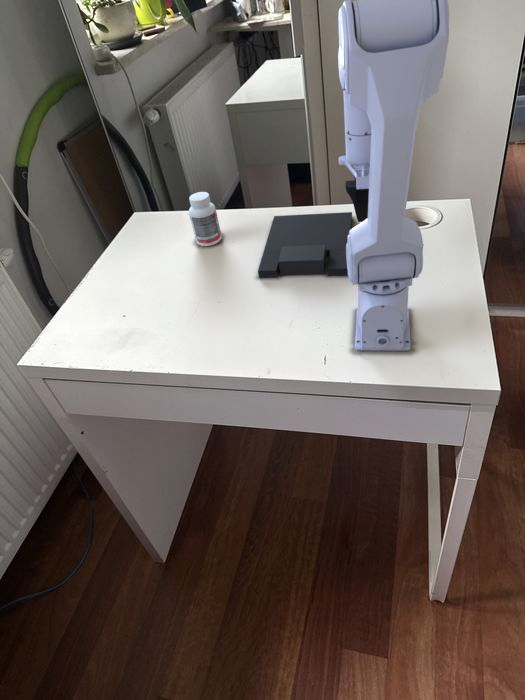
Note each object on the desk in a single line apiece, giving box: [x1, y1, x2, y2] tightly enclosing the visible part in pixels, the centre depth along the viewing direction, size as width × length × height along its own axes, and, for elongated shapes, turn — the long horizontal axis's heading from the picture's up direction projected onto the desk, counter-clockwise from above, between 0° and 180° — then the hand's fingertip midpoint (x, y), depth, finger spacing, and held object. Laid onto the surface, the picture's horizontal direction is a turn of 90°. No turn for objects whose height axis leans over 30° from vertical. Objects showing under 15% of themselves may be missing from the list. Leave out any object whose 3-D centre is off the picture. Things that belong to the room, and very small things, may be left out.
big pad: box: [257, 211, 353, 279], centre depth 100 cm, size 20×16×2 cm
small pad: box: [279, 245, 327, 276], centre depth 95 cm, size 5×8×3 cm, turn 81°
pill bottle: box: [188, 191, 223, 247], centre depth 105 cm, size 5×5×10 cm
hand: (364, 209), depth 89 cm, fingers open, 7 cm apart
